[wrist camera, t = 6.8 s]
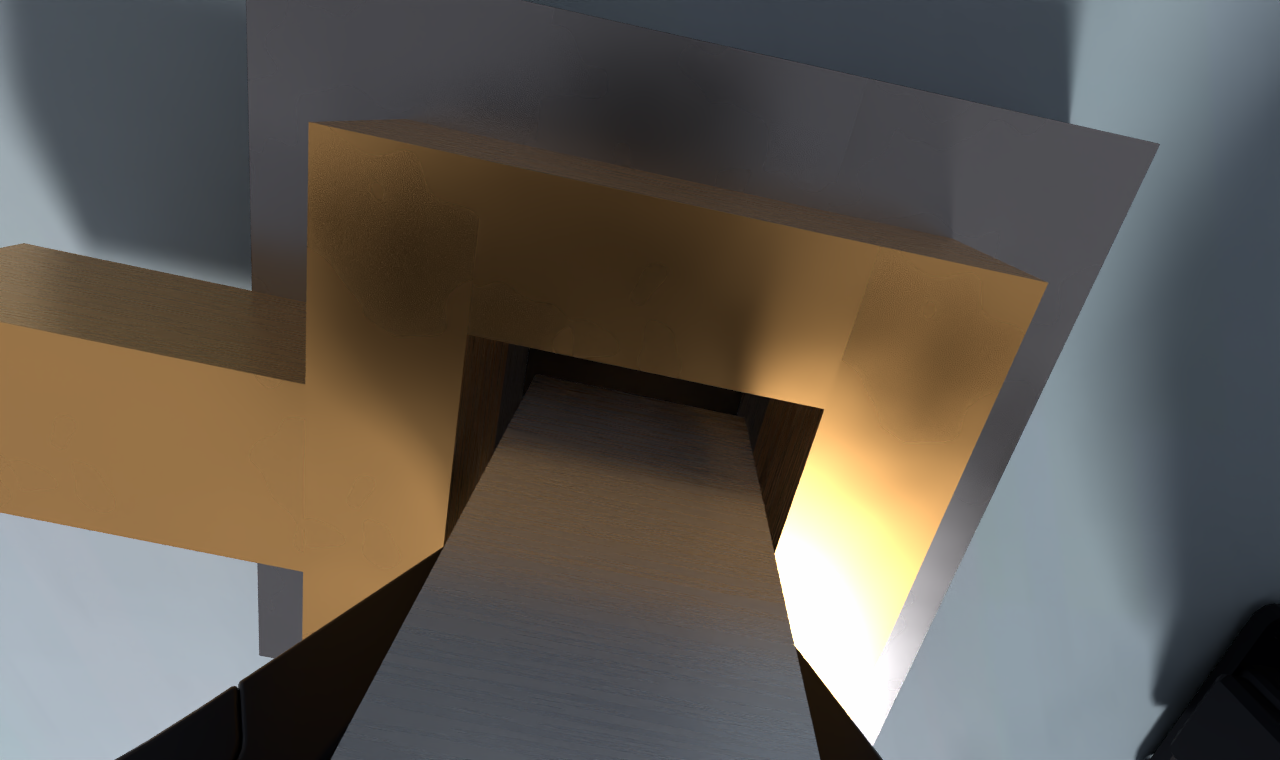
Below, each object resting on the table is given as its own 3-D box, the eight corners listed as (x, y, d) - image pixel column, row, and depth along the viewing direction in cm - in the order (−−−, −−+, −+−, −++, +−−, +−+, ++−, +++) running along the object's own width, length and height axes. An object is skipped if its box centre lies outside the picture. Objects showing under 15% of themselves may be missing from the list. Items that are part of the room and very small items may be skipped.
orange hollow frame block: (1069, 138, 12) (1343, 155, 7) (836, 684, 18) (901, 916, 13) (105, -79, 12) (-322, -222, 7) (161, 552, 17) (-56, 738, 12)
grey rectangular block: (744, 417, 10) (1075, 1912, 2) (684, 620, 12) (704, 1944, 3) (536, 373, 10) (-191, 1739, 2) (503, 584, 11) (38, 1850, 3)
